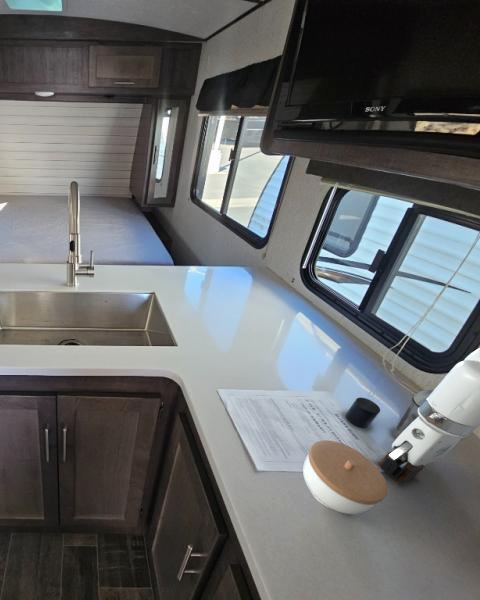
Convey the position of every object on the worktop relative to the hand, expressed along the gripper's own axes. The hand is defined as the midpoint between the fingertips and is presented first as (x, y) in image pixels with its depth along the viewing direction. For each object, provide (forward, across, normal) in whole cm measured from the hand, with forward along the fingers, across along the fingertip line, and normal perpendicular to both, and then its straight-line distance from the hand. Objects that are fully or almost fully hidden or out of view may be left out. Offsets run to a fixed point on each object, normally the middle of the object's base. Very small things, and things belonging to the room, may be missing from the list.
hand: (396, 469), depth 73 cm
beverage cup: (+1, +12, +6) cm, 13 cm away
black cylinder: (+1, +5, +13) cm, 14 cm away
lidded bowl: (+1, -20, 0) cm, 20 cm away
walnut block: (+1, 0, 0) cm, 1 cm away
